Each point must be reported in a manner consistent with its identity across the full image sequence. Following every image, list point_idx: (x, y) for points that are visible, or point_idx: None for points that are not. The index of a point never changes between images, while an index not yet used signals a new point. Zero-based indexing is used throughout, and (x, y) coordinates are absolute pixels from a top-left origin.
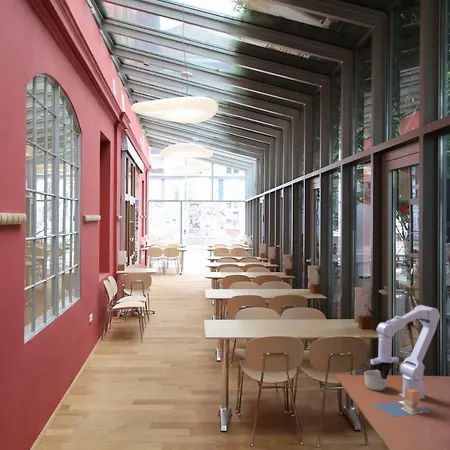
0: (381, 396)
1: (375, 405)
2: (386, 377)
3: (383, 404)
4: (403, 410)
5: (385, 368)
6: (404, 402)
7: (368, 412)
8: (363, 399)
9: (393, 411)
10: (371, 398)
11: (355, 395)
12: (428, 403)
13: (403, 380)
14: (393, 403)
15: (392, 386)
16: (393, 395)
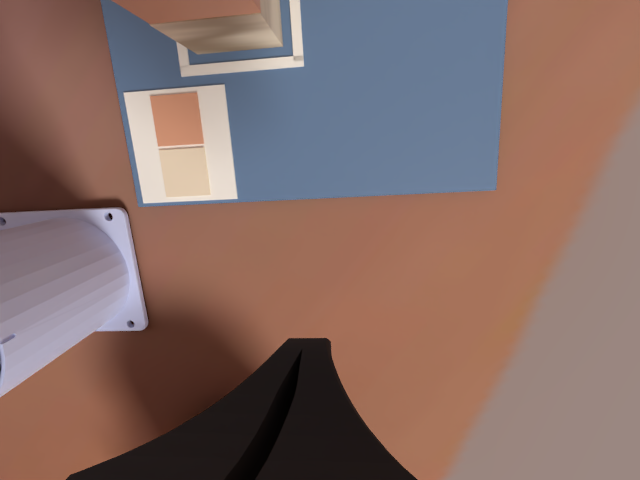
0: (286, 337)
1: (480, 175)
2: (288, 346)
3: (397, 177)
4: (313, 12)
5: (336, 453)
6: (271, 26)
7: (630, 79)
8: (462, 326)
9: (420, 10)
10: (386, 326)
11: (466, 403)
12: (10, 131)
13: (25, 358)
14: (299, 175)
15: (102, 456)
16: (187, 329)
